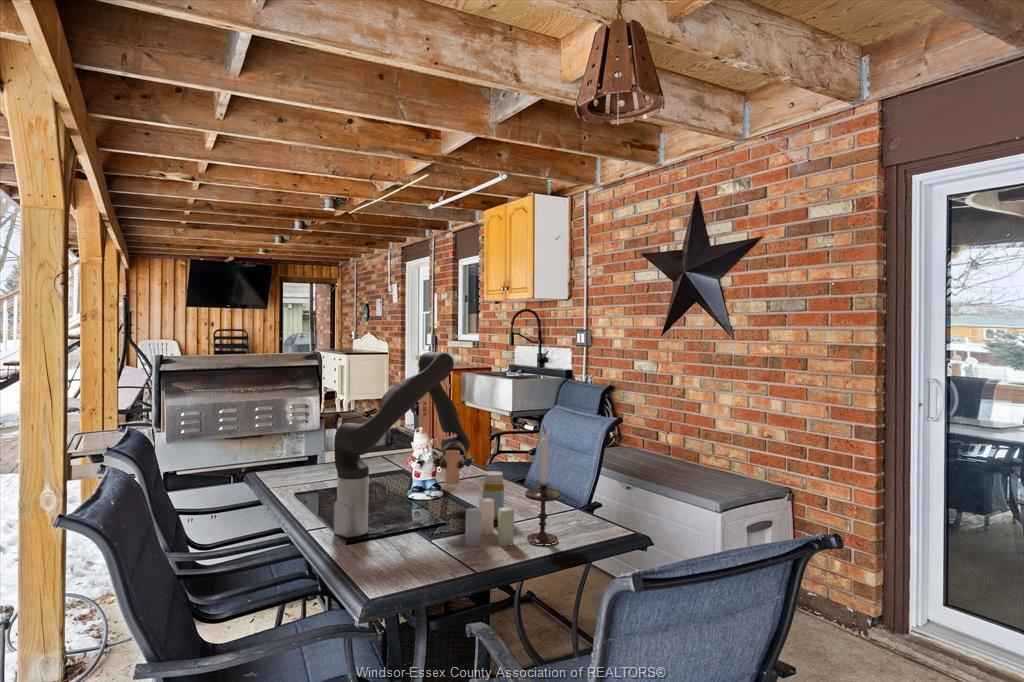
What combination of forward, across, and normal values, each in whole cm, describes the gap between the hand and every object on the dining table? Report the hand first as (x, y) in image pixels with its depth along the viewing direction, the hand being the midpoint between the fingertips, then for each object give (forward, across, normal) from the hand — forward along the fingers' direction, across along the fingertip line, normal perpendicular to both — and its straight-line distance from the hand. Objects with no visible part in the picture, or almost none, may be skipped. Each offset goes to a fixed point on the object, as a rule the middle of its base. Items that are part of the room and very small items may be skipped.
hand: (452, 465), depth 192 cm
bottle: (-11, +14, +20) cm, 27 cm away
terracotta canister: (-3, 0, +6) cm, 7 cm away
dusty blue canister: (+14, +7, +20) cm, 25 cm away
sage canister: (+13, +16, +20) cm, 29 cm away
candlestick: (+11, +28, +20) cm, 36 cm away
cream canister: (+3, +11, +20) cm, 23 cm away
